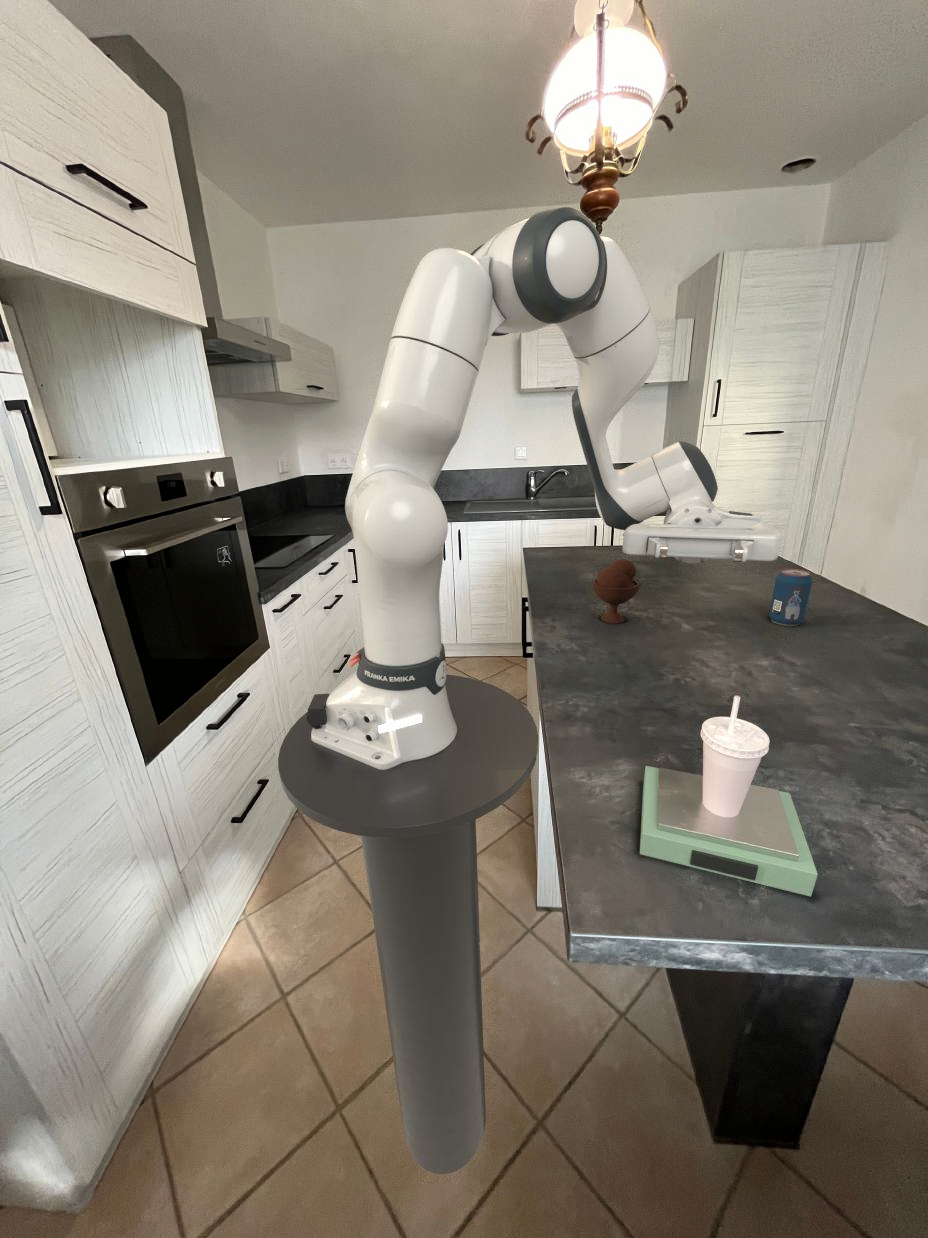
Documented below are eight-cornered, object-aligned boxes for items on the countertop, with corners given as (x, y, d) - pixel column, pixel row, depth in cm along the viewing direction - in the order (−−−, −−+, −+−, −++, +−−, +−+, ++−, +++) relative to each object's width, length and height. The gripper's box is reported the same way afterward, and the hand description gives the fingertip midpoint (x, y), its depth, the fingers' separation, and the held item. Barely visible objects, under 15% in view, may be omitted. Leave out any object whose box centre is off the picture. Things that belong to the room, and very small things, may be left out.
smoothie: (677, 791, 57) (694, 685, 52) (726, 782, 58) (746, 678, 53) (714, 832, 51) (737, 717, 46) (767, 821, 52) (795, 708, 47)
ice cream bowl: (610, 608, 126) (615, 551, 121) (646, 621, 117) (652, 560, 112) (580, 617, 121) (583, 558, 116) (615, 631, 112) (620, 567, 107)
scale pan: (657, 829, 53) (658, 824, 52) (658, 772, 61) (658, 767, 61) (797, 862, 48) (799, 855, 48) (777, 795, 57) (778, 789, 57)
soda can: (783, 614, 118) (794, 566, 113) (810, 624, 111) (822, 574, 107) (760, 618, 116) (770, 569, 112) (785, 628, 110) (797, 577, 105)
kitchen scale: (639, 856, 53) (642, 835, 52) (643, 784, 64) (645, 765, 63) (812, 900, 48) (819, 877, 47) (784, 812, 58) (789, 792, 57)
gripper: (625, 511, 78) (619, 527, 66) (772, 514, 71) (794, 532, 59) (622, 550, 80) (615, 572, 68) (764, 556, 73) (784, 582, 61)
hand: (700, 554), depth 64 cm, fingers open, 8 cm apart
